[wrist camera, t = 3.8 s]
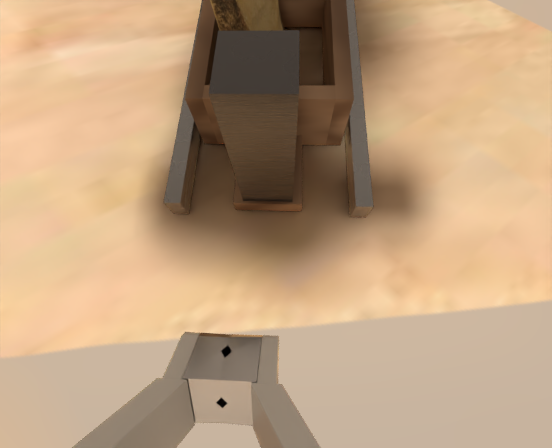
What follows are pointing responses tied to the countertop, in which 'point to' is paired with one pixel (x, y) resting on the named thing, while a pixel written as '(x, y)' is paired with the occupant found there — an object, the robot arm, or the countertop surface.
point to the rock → (247, 15)
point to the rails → (355, 144)
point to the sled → (270, 98)
